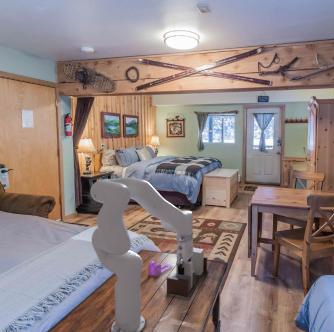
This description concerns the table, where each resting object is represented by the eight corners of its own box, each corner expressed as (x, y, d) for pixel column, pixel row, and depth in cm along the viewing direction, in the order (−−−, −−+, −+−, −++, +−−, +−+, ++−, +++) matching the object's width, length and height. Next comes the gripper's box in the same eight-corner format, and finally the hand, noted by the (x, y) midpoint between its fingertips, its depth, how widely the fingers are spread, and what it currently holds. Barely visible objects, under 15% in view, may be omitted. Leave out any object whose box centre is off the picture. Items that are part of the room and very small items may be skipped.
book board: (187, 299, 127) (188, 281, 126) (166, 295, 130) (166, 277, 128) (206, 272, 152) (207, 256, 151) (188, 269, 155) (188, 253, 153)
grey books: (187, 295, 129) (187, 280, 128) (170, 291, 131) (170, 277, 130) (195, 283, 138) (195, 270, 137) (179, 280, 140) (179, 267, 139)
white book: (190, 288, 134) (191, 264, 132) (176, 285, 136) (176, 261, 134) (192, 286, 136) (192, 262, 134) (177, 283, 138) (178, 259, 136)
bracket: (155, 278, 144) (155, 265, 143) (148, 275, 147) (148, 262, 146) (173, 268, 155) (173, 256, 154) (166, 265, 158) (166, 253, 157)
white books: (200, 275, 146) (200, 252, 144) (186, 273, 148) (186, 250, 146) (203, 271, 150) (203, 249, 149) (190, 269, 152) (190, 247, 151)
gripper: (184, 244, 123) (183, 280, 125) (198, 231, 140) (198, 263, 142) (169, 242, 125) (169, 278, 127) (185, 229, 141) (184, 261, 144)
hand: (184, 270), depth 135 cm, fingers open, 7 cm apart
